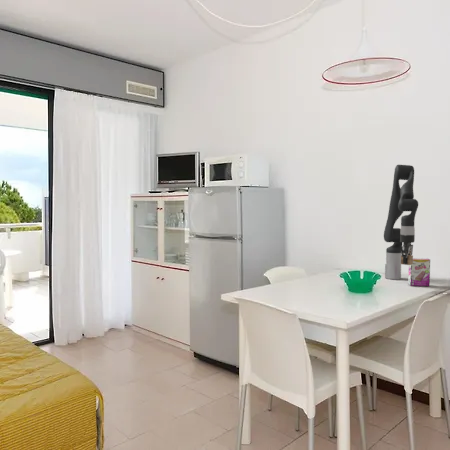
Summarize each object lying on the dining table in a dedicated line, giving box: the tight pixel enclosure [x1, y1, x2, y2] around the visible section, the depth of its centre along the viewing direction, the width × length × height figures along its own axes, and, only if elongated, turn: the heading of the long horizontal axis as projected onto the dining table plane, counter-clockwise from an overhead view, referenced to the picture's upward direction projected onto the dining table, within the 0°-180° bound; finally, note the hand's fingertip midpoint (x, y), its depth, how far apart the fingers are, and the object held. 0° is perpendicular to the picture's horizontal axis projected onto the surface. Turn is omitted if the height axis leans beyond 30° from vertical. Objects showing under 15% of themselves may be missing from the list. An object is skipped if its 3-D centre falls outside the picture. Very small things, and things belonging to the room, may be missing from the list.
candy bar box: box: [407, 257, 431, 287], centre depth 252 cm, size 11×5×16 cm, turn 84°
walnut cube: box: [401, 254, 414, 266], centre depth 241 cm, size 5×5×5 cm
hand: (406, 263), depth 241 cm, fingers closed on walnut cube, 5 cm apart
